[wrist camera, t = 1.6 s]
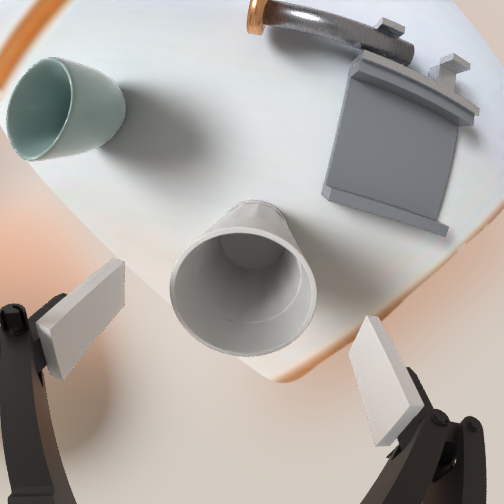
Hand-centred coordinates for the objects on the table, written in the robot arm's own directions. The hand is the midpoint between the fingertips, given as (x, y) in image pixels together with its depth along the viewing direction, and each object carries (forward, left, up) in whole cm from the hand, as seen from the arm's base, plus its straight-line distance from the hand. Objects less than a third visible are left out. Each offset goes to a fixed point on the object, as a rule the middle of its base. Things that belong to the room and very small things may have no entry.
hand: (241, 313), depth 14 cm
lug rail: (-20, +11, -13) cm, 26 cm away
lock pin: (-20, +2, -12) cm, 23 cm away
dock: (-11, +11, -13) cm, 20 cm away
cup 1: (-9, -17, -13) cm, 23 cm away
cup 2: (0, 0, -13) cm, 13 cm away
